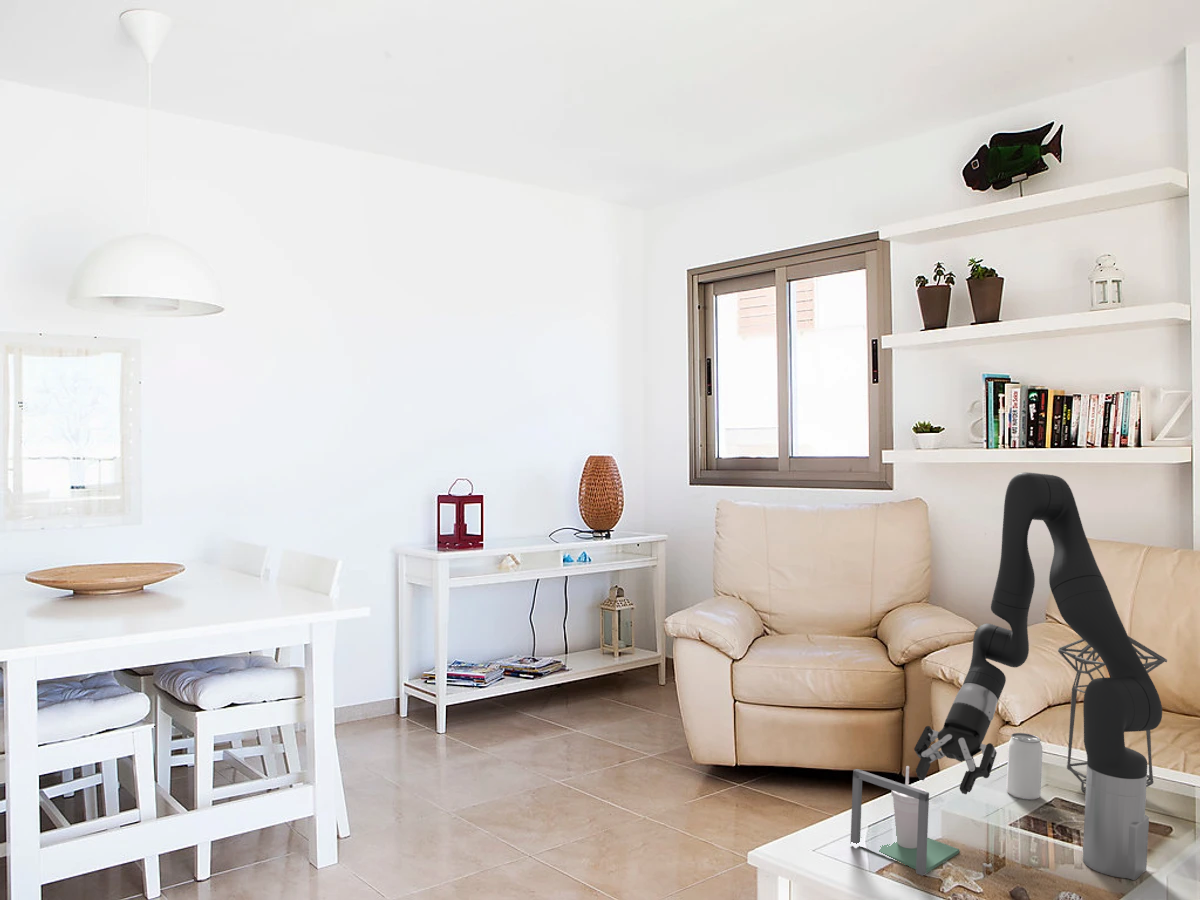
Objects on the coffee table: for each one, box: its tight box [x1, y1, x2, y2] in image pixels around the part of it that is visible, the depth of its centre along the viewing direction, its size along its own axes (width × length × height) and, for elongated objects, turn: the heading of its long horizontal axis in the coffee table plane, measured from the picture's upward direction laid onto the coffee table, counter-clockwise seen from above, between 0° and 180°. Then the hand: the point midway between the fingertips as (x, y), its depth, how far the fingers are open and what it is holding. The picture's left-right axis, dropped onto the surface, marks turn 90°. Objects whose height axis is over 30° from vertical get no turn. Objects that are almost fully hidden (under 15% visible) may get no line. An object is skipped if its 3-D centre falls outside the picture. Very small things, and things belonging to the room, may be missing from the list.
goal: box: [850, 768, 960, 877], centre depth 171 cm, size 14×13×14 cm
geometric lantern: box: [1057, 635, 1168, 794], centre depth 199 cm, size 16×16×35 cm
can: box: [1006, 732, 1043, 801], centre depth 198 cm, size 6×6×12 cm
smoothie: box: [891, 765, 927, 849], centre depth 172 cm, size 6×6×14 cm
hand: (941, 784), depth 179 cm, fingers open, 8 cm apart
